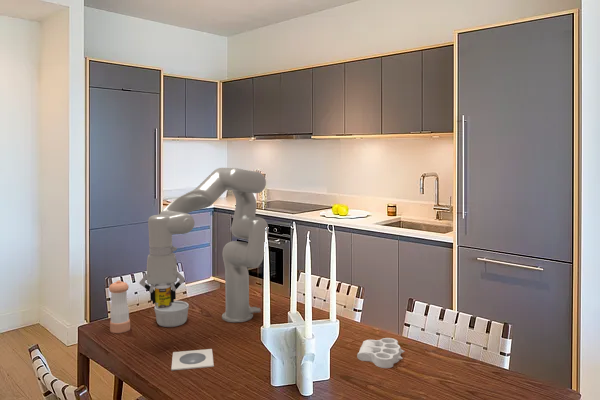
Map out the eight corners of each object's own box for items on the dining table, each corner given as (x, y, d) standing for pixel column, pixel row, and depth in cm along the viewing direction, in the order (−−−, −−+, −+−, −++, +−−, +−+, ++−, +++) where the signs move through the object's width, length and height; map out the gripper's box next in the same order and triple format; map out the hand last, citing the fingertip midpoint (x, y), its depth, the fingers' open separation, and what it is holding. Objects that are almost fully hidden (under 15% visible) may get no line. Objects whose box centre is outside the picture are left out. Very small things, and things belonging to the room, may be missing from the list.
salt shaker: (134, 327, 185) (132, 279, 183) (121, 334, 178) (119, 284, 176) (118, 325, 188) (117, 277, 186) (105, 331, 181) (103, 282, 179)
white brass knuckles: (364, 343, 171) (406, 349, 167) (355, 365, 154) (401, 371, 150) (365, 334, 171) (406, 339, 167) (355, 355, 154) (401, 361, 150)
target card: (212, 350, 165) (212, 348, 164) (213, 366, 152) (213, 365, 152) (172, 353, 162) (172, 351, 162) (171, 370, 149) (171, 368, 149)
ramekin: (196, 320, 193) (195, 304, 192) (171, 331, 182) (170, 313, 181) (173, 314, 200) (172, 298, 199) (147, 324, 189) (147, 307, 188)
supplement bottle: (158, 311, 162) (156, 281, 161) (153, 306, 167) (151, 278, 166) (174, 308, 165) (173, 279, 164) (168, 303, 170) (167, 275, 169)
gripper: (187, 247, 169) (188, 296, 172) (136, 250, 166) (138, 300, 168) (186, 251, 162) (188, 303, 164) (133, 255, 158) (136, 307, 161)
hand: (163, 301), depth 166 cm, fingers closed on supplement bottle, 5 cm apart
